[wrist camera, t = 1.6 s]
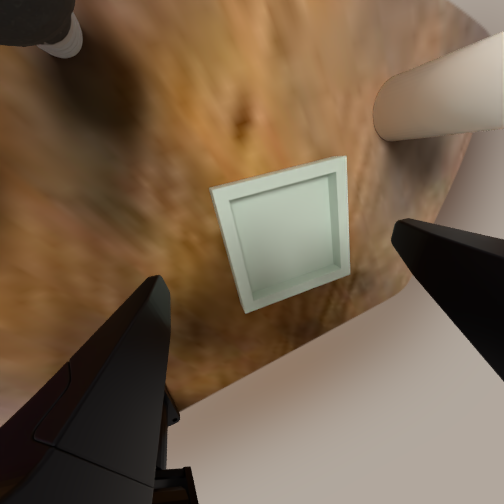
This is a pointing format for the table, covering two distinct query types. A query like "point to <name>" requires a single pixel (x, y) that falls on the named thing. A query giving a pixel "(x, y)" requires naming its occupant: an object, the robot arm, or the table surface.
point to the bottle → (445, 95)
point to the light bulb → (41, 26)
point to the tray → (285, 230)
